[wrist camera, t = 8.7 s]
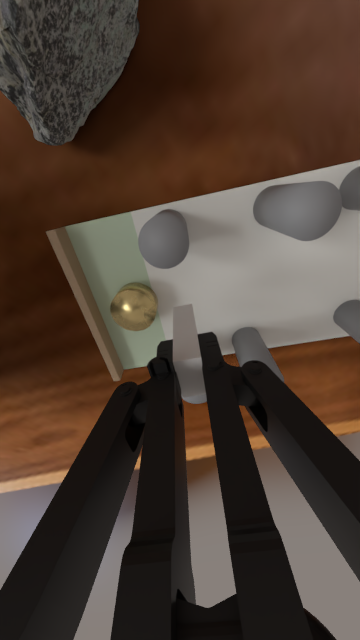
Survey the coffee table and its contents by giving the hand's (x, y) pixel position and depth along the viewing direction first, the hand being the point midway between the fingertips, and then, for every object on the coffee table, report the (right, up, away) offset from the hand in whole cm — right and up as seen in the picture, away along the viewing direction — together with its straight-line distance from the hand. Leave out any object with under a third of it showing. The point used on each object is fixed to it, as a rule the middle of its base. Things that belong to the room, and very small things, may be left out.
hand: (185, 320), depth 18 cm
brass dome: (-5, +2, +6) cm, 8 cm away
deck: (+4, +4, +6) cm, 8 cm away
